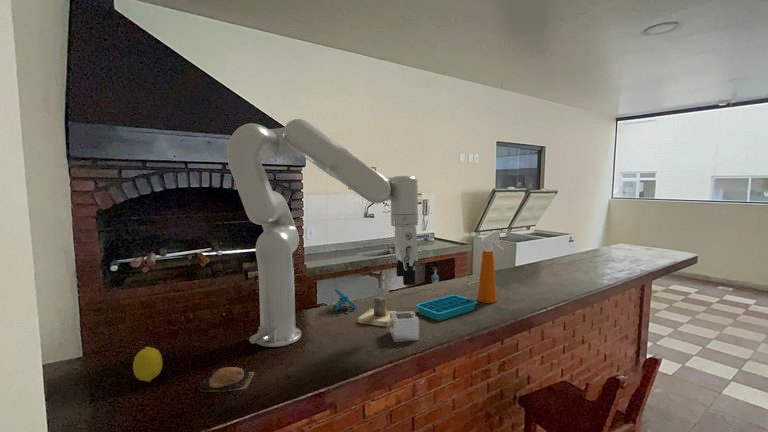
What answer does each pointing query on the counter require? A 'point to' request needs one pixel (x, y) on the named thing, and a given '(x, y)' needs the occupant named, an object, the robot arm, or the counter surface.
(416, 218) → the robot arm
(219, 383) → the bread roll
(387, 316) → the keyed post stand
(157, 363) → the lemon
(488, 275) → the spray bottle
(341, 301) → the gear
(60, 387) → the counter surface
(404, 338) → the grey hollow block
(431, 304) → the ice cube tray
